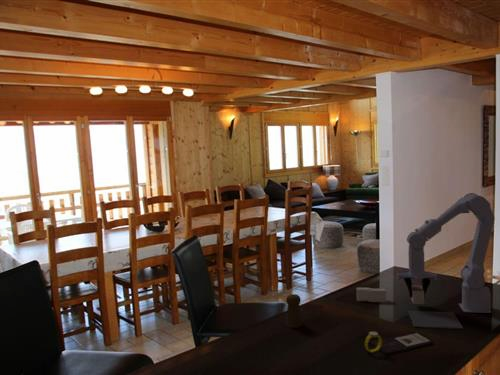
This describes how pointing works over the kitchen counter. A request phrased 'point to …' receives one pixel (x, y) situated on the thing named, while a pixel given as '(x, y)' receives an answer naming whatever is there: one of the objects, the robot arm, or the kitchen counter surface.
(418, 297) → the card box
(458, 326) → the rubber mat
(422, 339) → the chocolate bar
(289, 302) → the cork
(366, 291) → the napkin holder
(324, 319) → the kitchen counter surface
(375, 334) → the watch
